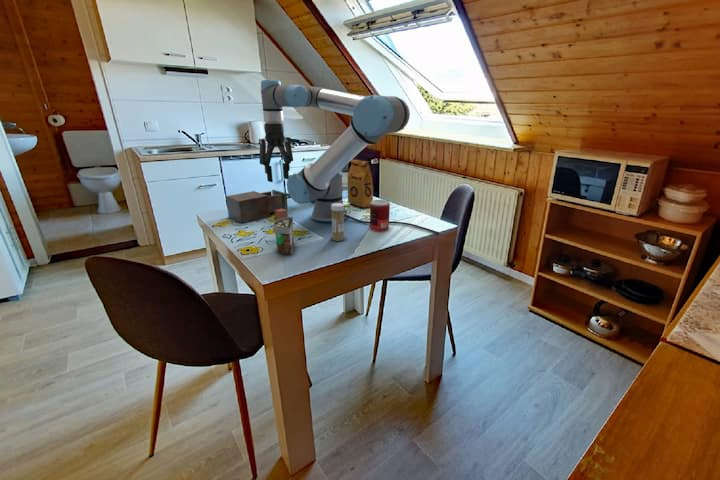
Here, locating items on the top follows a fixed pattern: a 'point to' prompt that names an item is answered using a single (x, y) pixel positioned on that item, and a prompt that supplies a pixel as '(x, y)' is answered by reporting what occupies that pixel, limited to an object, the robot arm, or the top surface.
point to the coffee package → (360, 184)
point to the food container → (284, 235)
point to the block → (280, 213)
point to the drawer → (277, 200)
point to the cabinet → (247, 206)
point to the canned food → (379, 215)
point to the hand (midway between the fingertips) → (278, 180)
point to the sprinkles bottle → (337, 221)
